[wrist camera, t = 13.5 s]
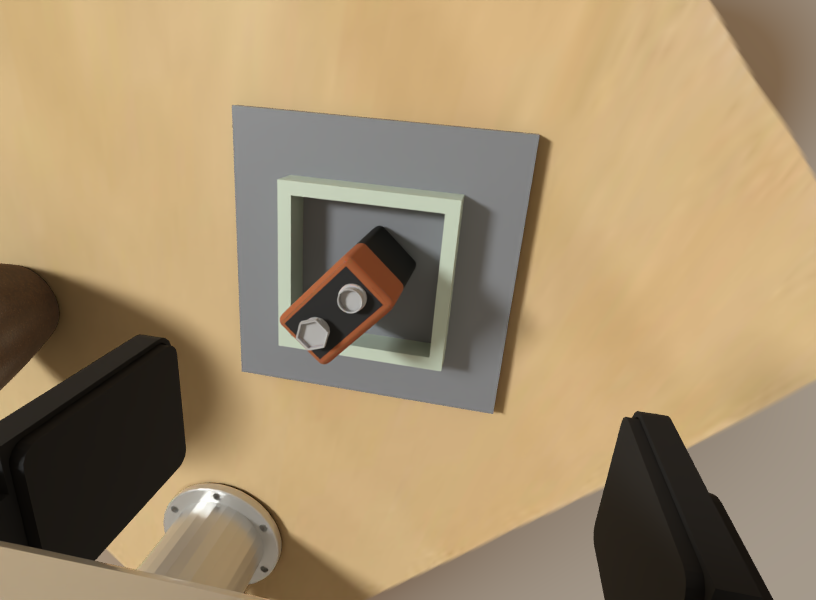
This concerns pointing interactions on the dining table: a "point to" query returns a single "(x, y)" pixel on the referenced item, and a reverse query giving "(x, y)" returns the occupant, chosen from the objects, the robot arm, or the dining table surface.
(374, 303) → the battery
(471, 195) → the slot tray
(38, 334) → the plant pot
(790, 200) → the dining table surface
